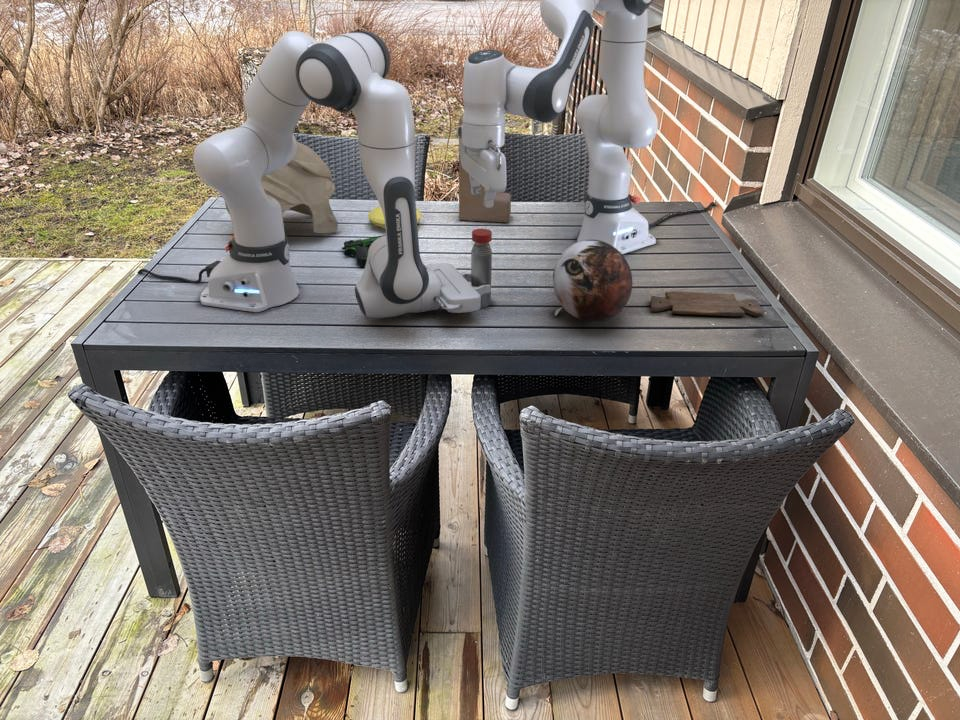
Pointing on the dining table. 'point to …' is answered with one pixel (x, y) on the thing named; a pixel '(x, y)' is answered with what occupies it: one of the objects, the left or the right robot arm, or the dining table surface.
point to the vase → (378, 217)
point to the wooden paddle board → (705, 304)
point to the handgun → (358, 249)
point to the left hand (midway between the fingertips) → (484, 282)
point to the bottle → (481, 269)
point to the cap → (481, 235)
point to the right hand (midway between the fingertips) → (482, 200)
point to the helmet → (304, 188)
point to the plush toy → (592, 281)
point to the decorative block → (480, 200)
